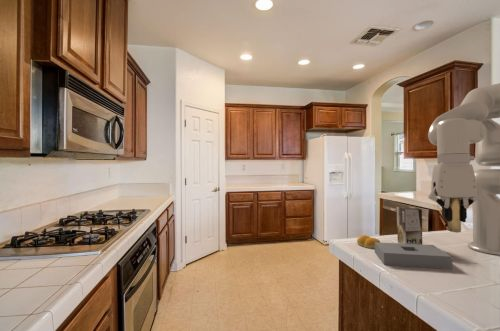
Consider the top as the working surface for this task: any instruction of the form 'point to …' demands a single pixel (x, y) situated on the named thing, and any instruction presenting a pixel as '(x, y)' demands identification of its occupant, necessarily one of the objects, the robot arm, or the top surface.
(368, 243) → the bread roll
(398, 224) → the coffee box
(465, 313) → the top surface
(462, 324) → the top surface
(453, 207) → the brass peg
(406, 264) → the hole block
